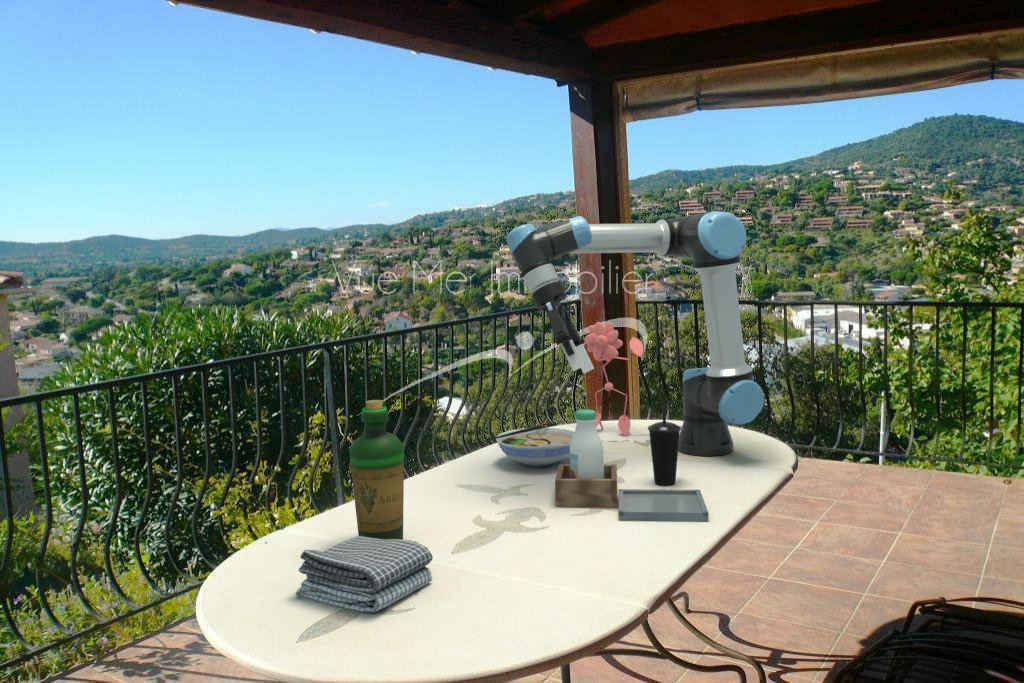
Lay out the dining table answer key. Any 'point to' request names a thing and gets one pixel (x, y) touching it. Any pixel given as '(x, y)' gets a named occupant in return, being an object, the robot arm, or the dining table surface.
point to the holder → (586, 489)
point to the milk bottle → (586, 448)
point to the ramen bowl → (536, 444)
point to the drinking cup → (664, 450)
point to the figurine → (605, 346)
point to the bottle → (378, 476)
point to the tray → (661, 505)
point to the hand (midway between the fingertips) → (584, 370)
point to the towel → (364, 573)
